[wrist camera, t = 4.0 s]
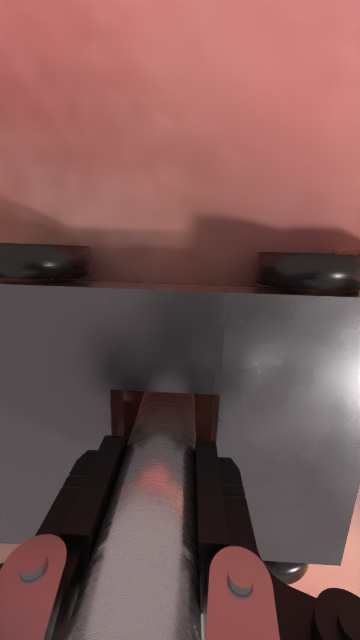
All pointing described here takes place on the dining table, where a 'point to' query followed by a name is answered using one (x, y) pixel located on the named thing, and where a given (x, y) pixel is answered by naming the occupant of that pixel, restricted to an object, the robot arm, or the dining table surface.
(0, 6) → the dining table surface
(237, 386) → the trolley
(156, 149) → the dining table surface
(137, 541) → the pin
